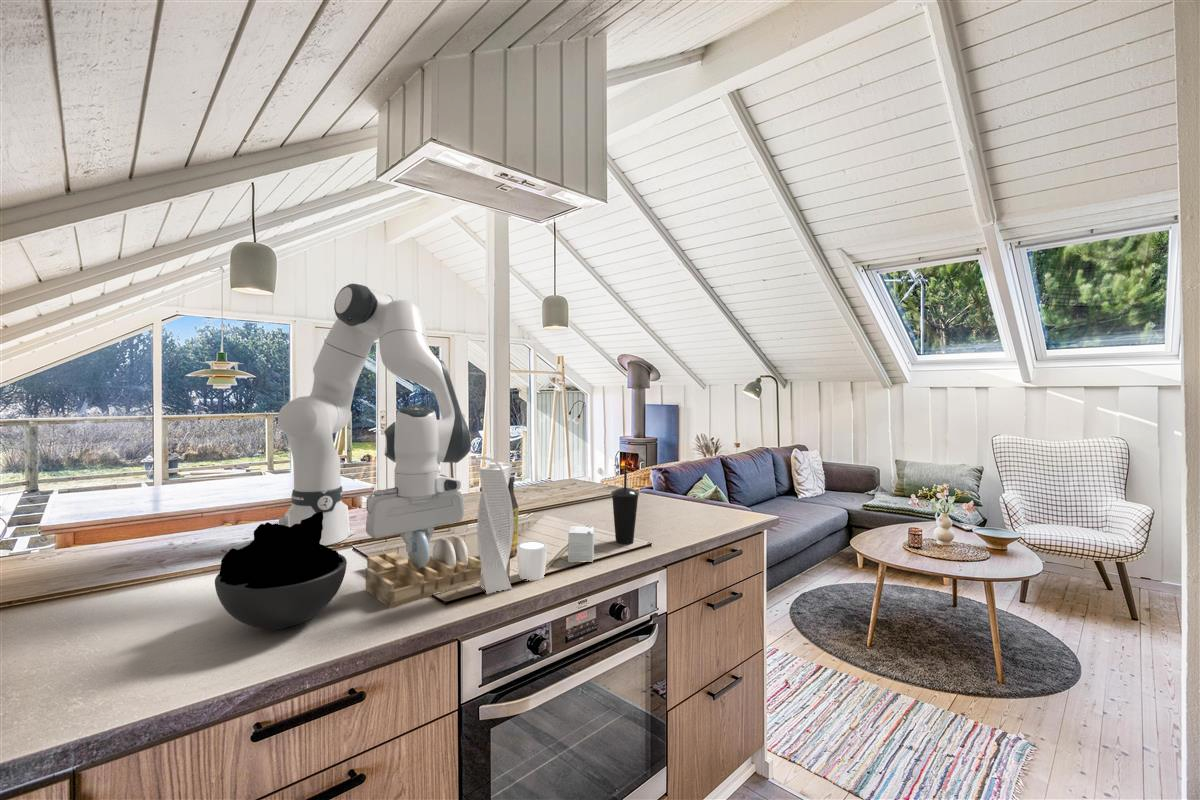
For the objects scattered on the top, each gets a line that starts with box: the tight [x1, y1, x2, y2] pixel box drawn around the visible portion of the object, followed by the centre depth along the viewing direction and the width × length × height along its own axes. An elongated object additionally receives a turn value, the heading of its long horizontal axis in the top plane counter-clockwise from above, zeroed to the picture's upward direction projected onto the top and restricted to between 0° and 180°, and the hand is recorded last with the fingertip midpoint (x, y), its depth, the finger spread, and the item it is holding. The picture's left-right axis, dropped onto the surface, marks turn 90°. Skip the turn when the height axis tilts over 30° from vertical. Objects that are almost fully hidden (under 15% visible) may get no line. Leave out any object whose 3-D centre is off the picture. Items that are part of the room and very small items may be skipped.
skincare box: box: [567, 525, 595, 563], centre depth 131 cm, size 6×6×7 cm
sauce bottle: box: [508, 474, 519, 558], centre depth 133 cm, size 7×6×20 cm
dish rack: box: [365, 535, 482, 609], centre depth 113 cm, size 12×20×9 cm, turn 135°
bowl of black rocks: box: [214, 511, 348, 630], centre depth 94 cm, size 20×20×19 cm
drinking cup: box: [610, 468, 640, 545], centre depth 145 cm, size 8×8×20 cm
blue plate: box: [406, 529, 431, 568], centre depth 111 cm, size 8×1×8 cm, turn 46°
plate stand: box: [366, 551, 408, 573], centre depth 120 cm, size 11×6×3 cm, turn 45°
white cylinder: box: [516, 540, 548, 582], centre depth 119 cm, size 7×7×7 cm
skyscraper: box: [475, 456, 514, 595], centre depth 112 cm, size 8×8×28 cm
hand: (417, 550), depth 111 cm, fingers closed on blue plate, 1 cm apart
